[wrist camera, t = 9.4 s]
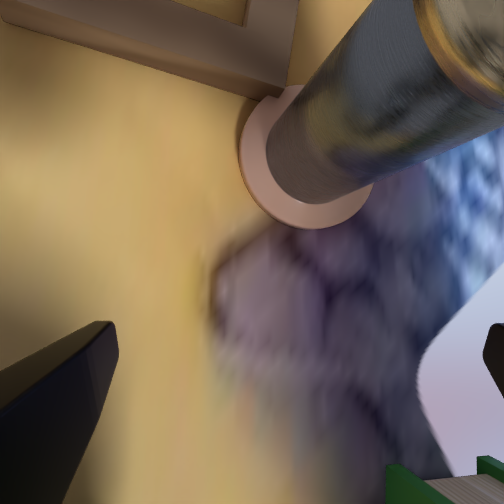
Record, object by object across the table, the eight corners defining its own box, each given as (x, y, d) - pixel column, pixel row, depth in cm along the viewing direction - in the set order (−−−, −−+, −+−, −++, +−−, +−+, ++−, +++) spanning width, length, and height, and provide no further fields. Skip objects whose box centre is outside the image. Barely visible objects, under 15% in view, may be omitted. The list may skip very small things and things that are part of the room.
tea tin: (283, 218, 19) (495, 120, 7) (249, 117, 19) (410, -143, 7) (370, 191, 20) (654, 74, 9) (339, 97, 20) (585, -141, 9)
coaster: (299, 258, 20) (305, 257, 19) (208, 140, 19) (211, 134, 18) (391, 177, 22) (400, 173, 21) (313, 67, 21) (320, 59, 20)
